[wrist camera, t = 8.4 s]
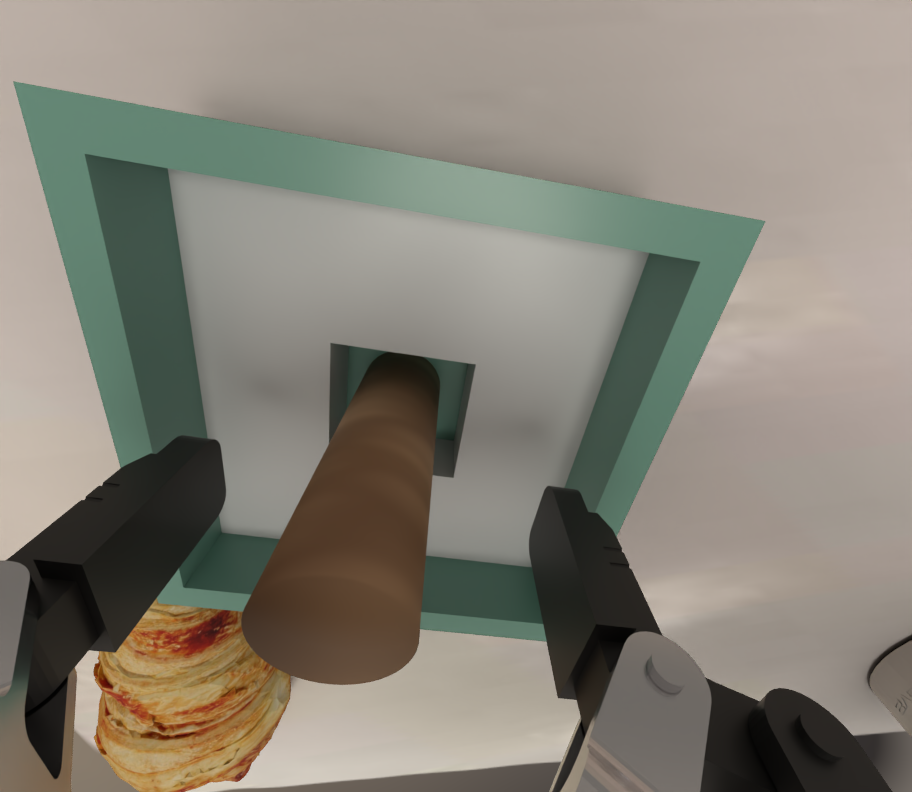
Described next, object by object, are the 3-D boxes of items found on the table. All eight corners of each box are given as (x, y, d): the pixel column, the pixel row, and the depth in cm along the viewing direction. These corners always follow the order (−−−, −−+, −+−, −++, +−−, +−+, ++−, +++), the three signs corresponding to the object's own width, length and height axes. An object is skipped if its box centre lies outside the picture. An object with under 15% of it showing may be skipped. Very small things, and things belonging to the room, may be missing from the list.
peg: (445, 356, 15) (429, 586, 6) (434, 422, 16) (409, 691, 7) (366, 344, 15) (233, 565, 6) (362, 412, 16) (248, 676, 7)
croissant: (165, 481, 24) (-29, 580, 17) (283, 545, 19) (85, 707, 13) (238, 686, 33) (129, 801, 26) (329, 760, 29) (226, 917, 22)
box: (644, 212, 14) (765, 221, 8) (537, 526, 20) (566, 643, 15) (200, 130, 13) (13, 81, 7) (240, 491, 19) (158, 603, 14)
